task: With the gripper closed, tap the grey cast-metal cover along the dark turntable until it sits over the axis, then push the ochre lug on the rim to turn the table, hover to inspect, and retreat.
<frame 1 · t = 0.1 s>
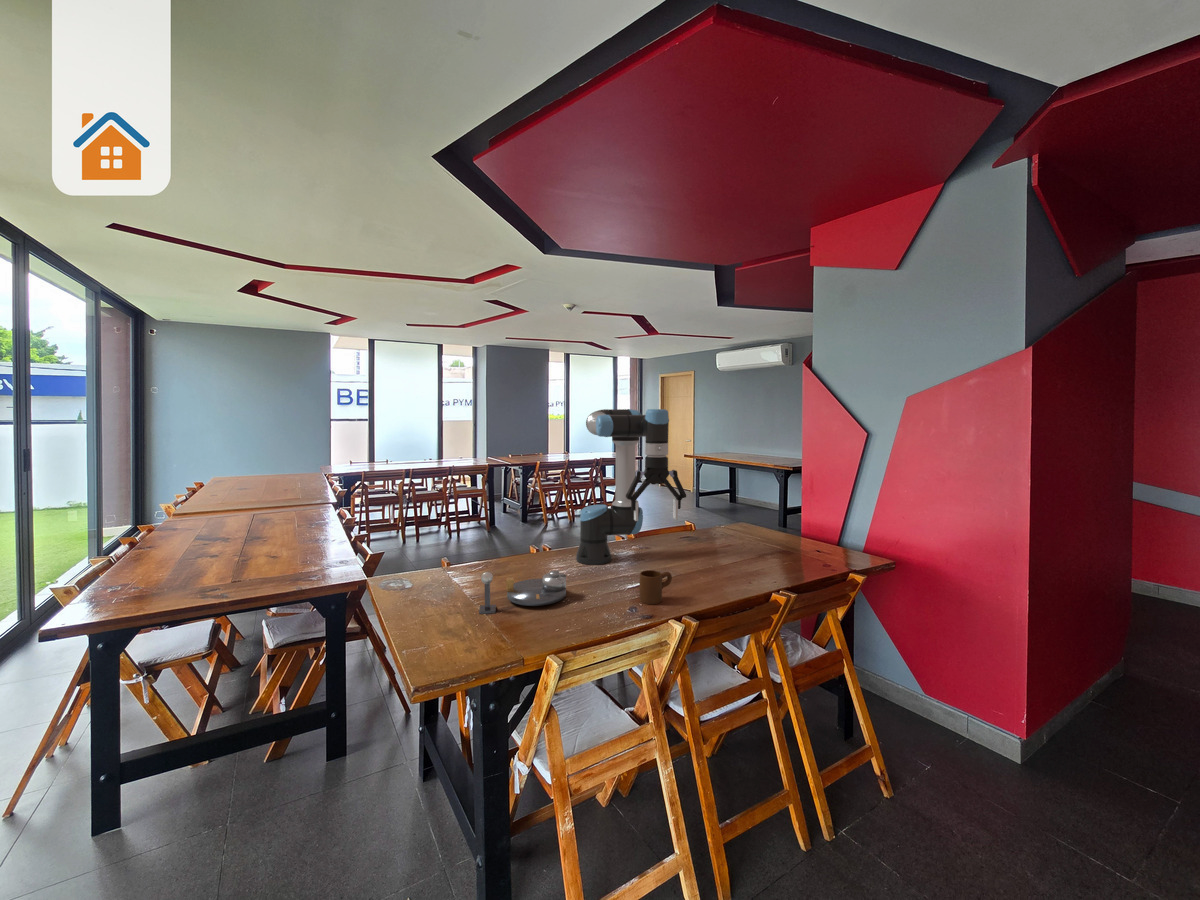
hand: (655, 519, 163), 28 cm above the table, fingers open, 13 cm apart
cover: (554, 587, 169), point 3 cm above the table, touching turntable
turntable: (536, 585, 168), point 4 cm above the table, hinge at 0.0°, touching cover
mug: (656, 600, 167), on the table
globe lamp: (487, 610, 157), on the table
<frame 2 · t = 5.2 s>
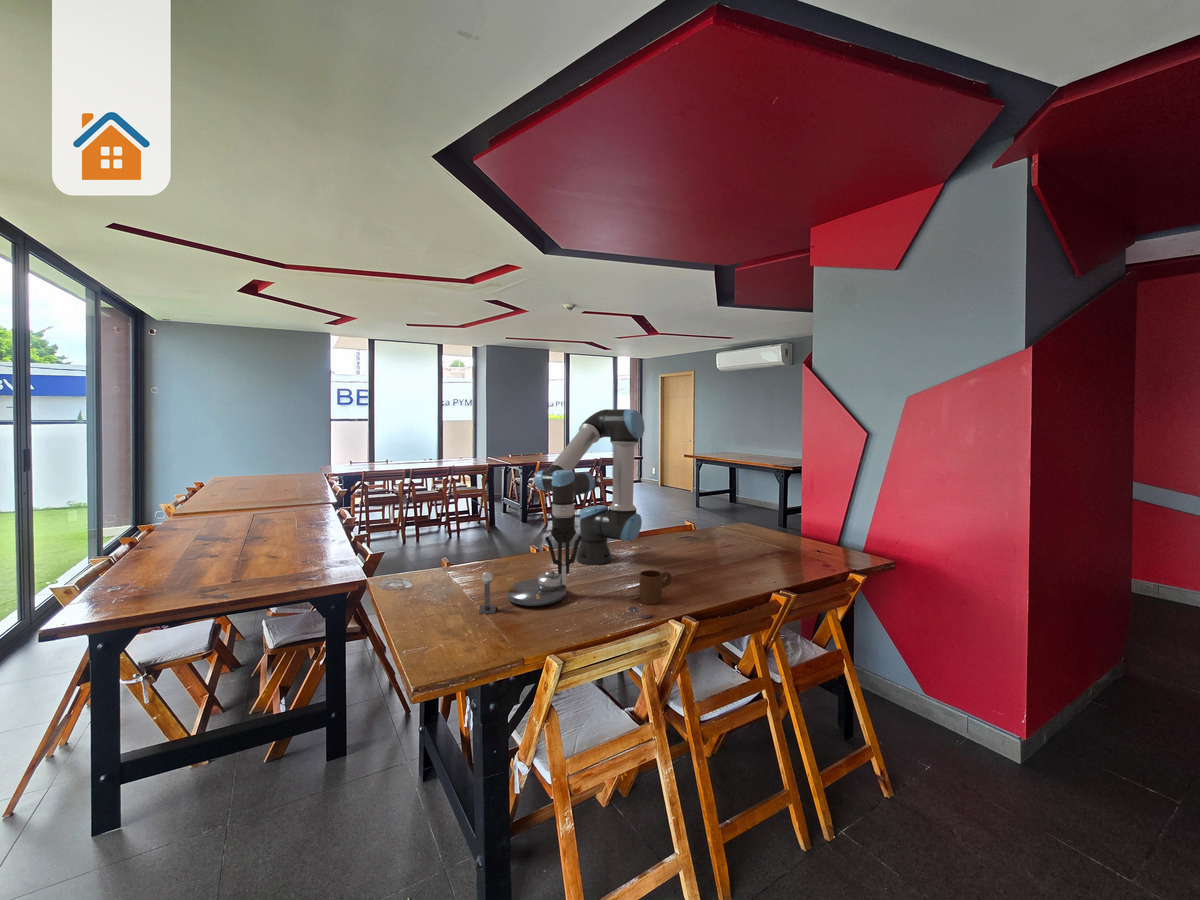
hand: (563, 583, 169), 5 cm above the table, fingers closed
cover: (549, 587, 169), point 3 cm above the table, touching gripper, turntable
everything else where it was.
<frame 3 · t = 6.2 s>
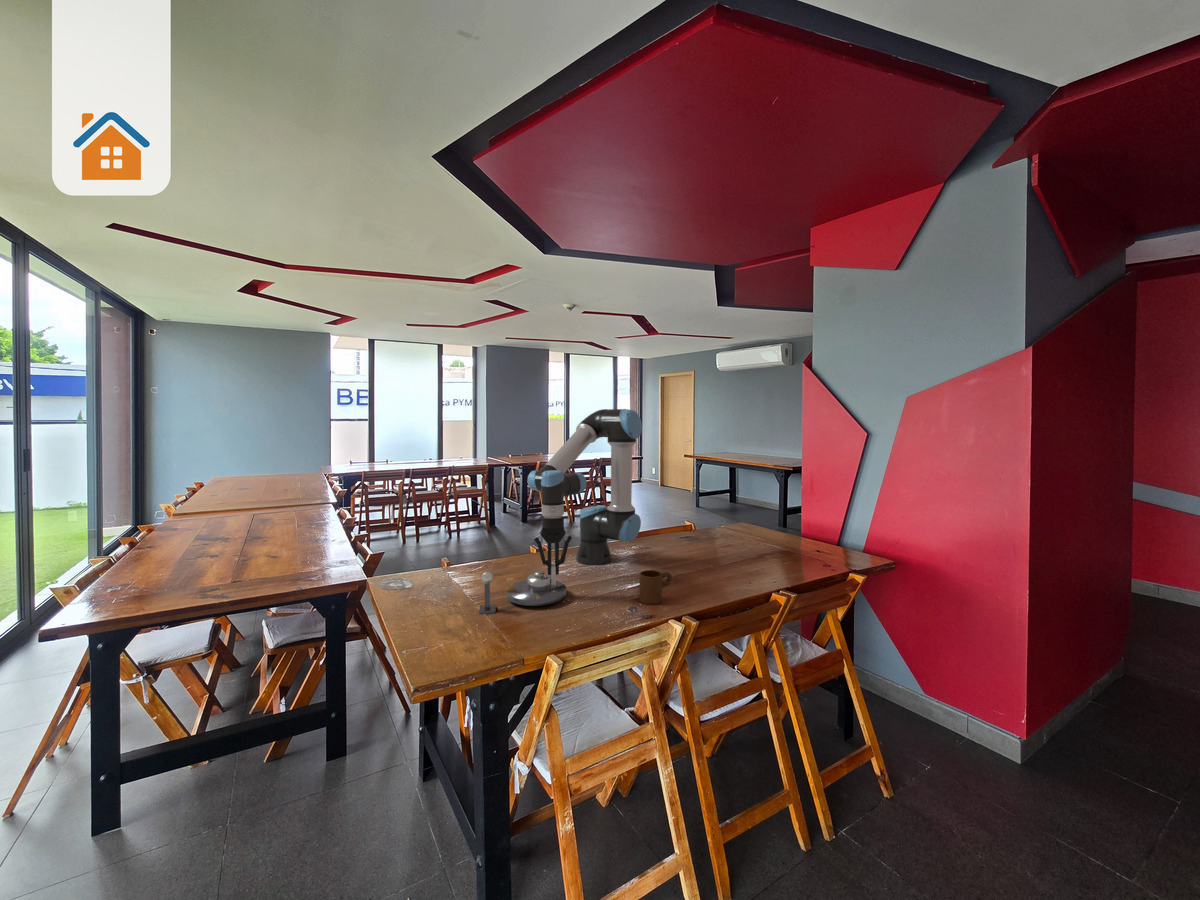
hand: (553, 583, 168), 5 cm above the table, fingers closed
cover: (539, 588, 168), point 3 cm above the table, touching gripper, turntable
everything else where it was.
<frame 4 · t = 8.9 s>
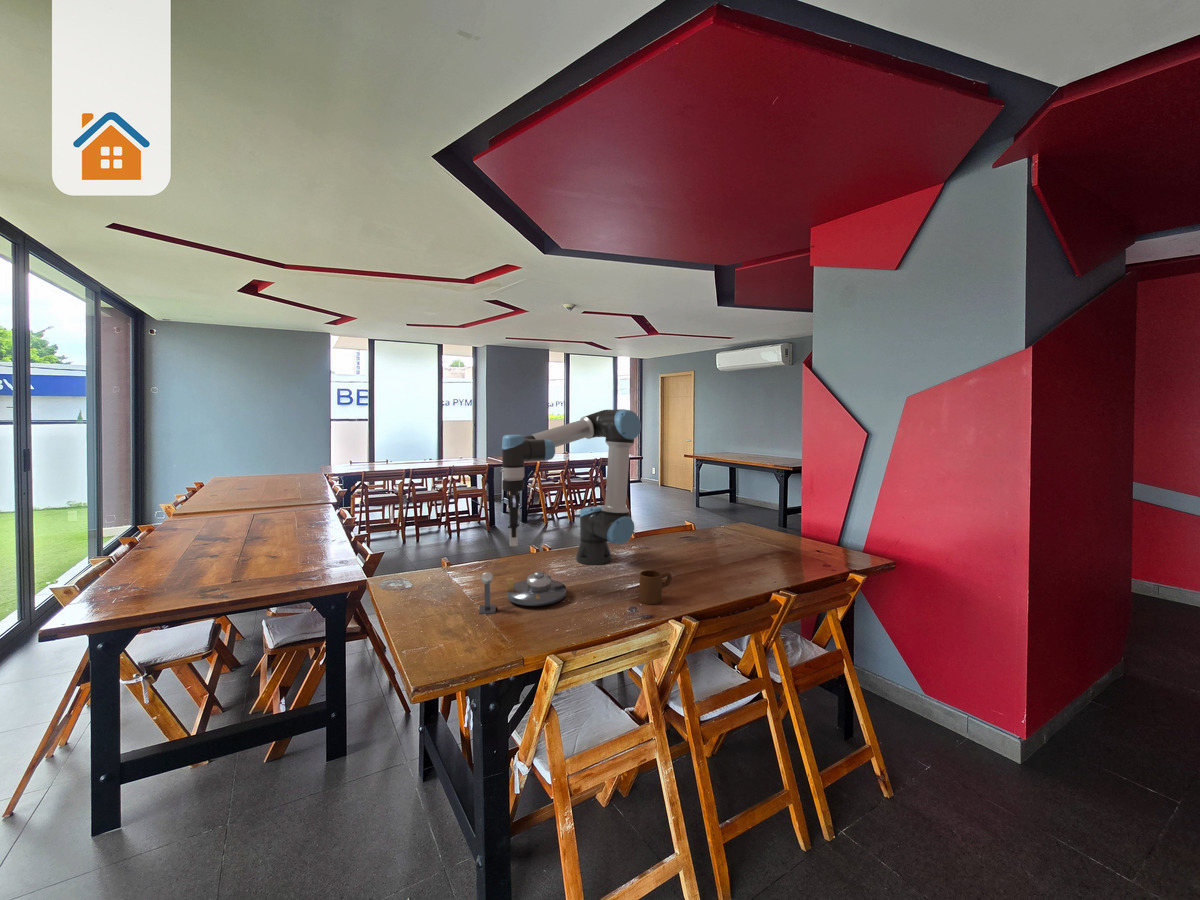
hand: (513, 545, 172), 17 cm above the table, fingers closed
cover: (539, 588, 168), point 3 cm above the table, touching turntable
everything else where it was.
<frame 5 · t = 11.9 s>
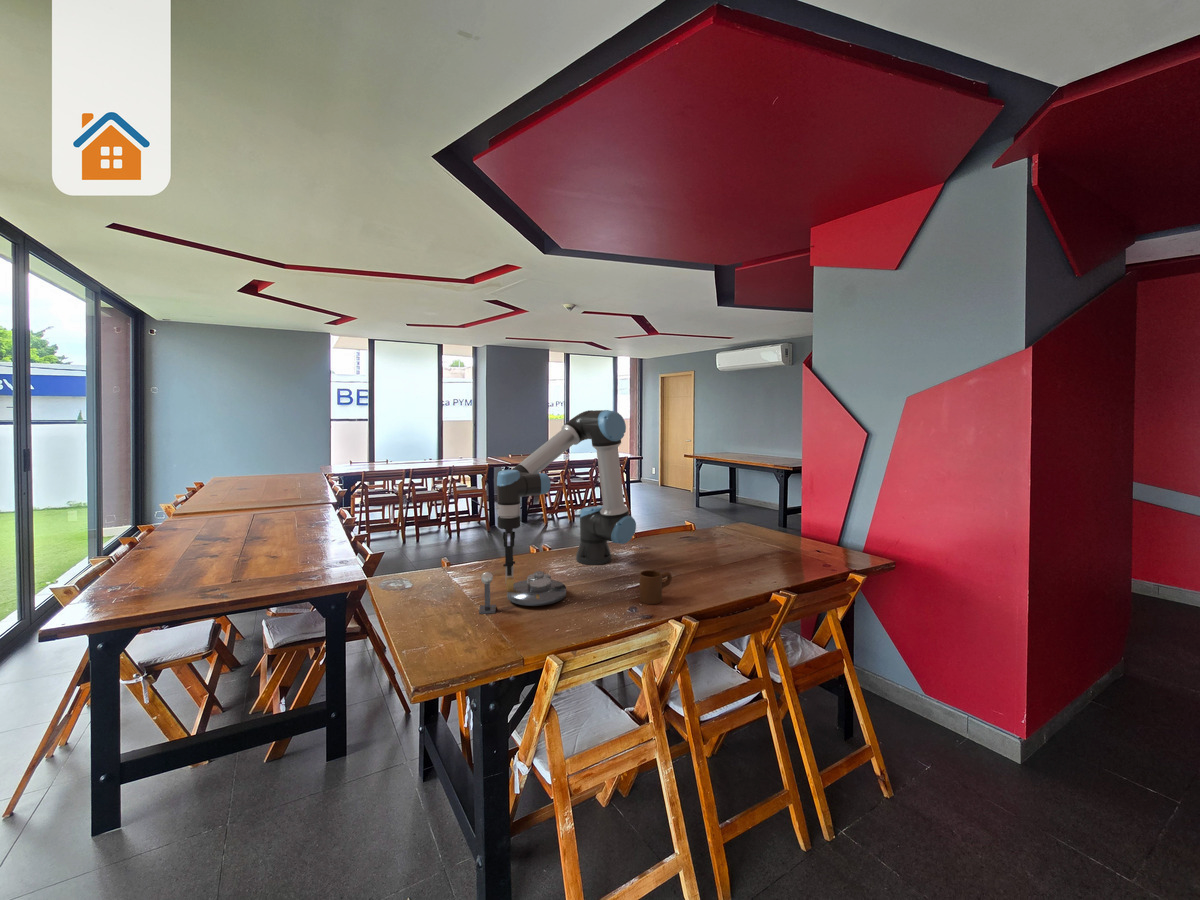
hand: (509, 583, 168), 5 cm above the table, fingers closed
turntable: (536, 585, 168), point 4 cm above the table, hinge at 0.0°, touching cover, gripper
everything else where it was.
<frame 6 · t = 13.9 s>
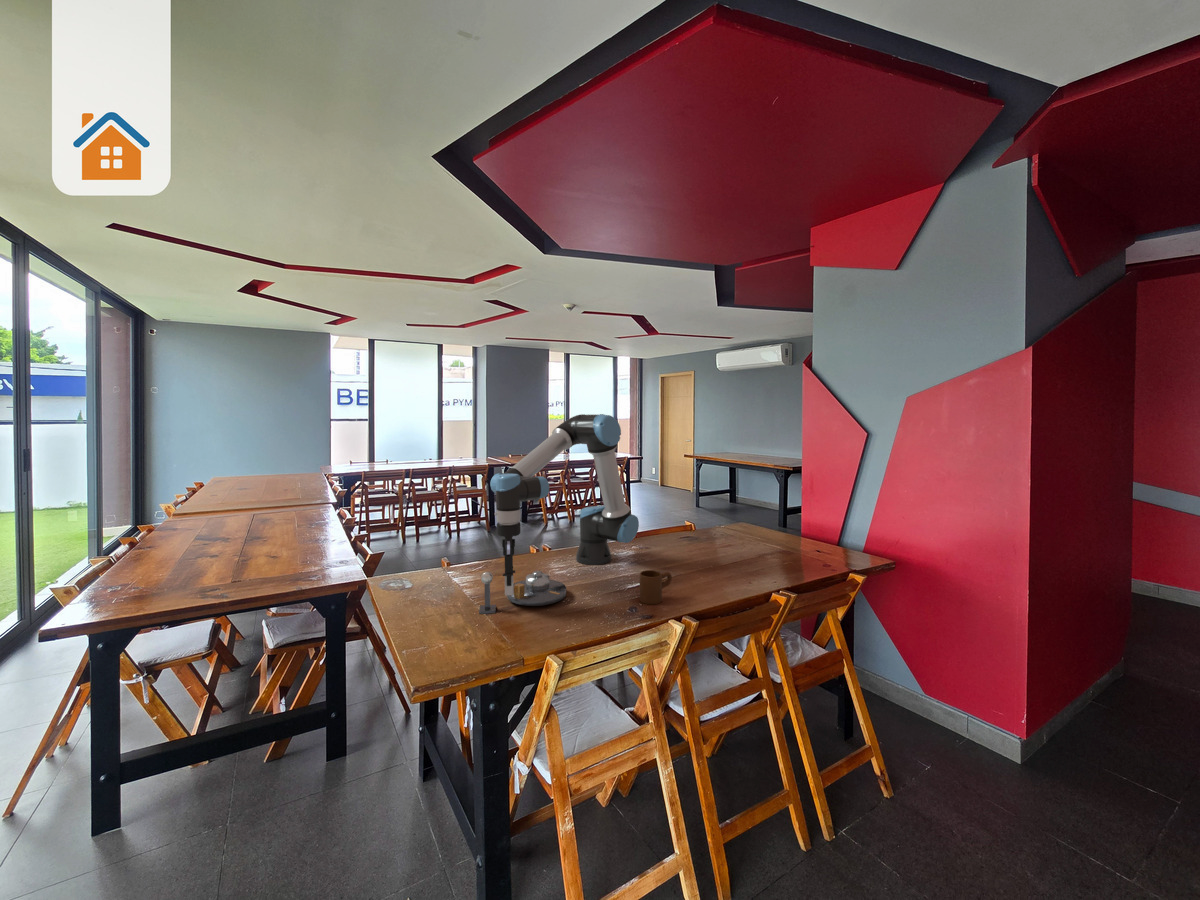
hand: (509, 594, 159), 5 cm above the table, fingers closed
turntable: (536, 585, 168), point 4 cm above the table, hinge at 48.6°, touching cover
everything else where it was.
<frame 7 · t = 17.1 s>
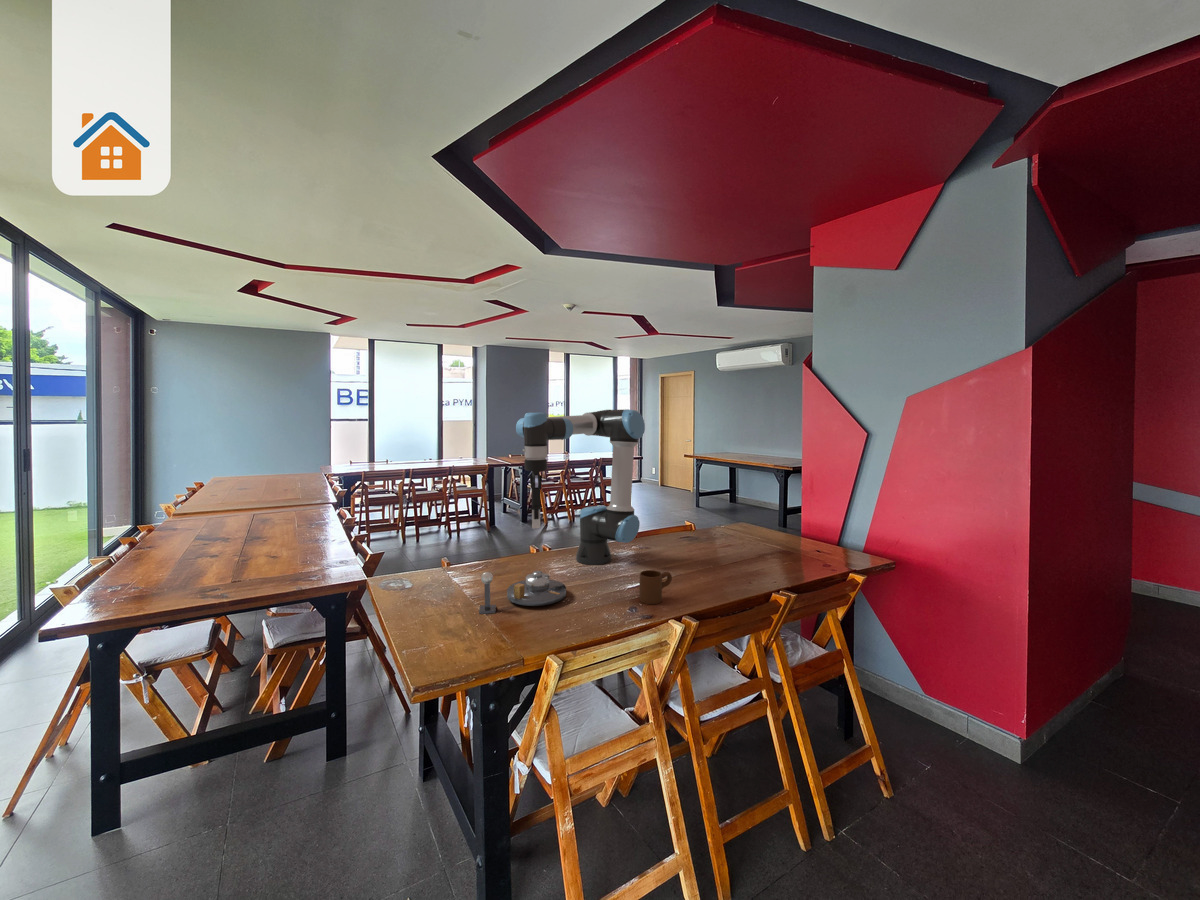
hand: (536, 527, 166), 24 cm above the table, fingers closed
nothing on the table moved.
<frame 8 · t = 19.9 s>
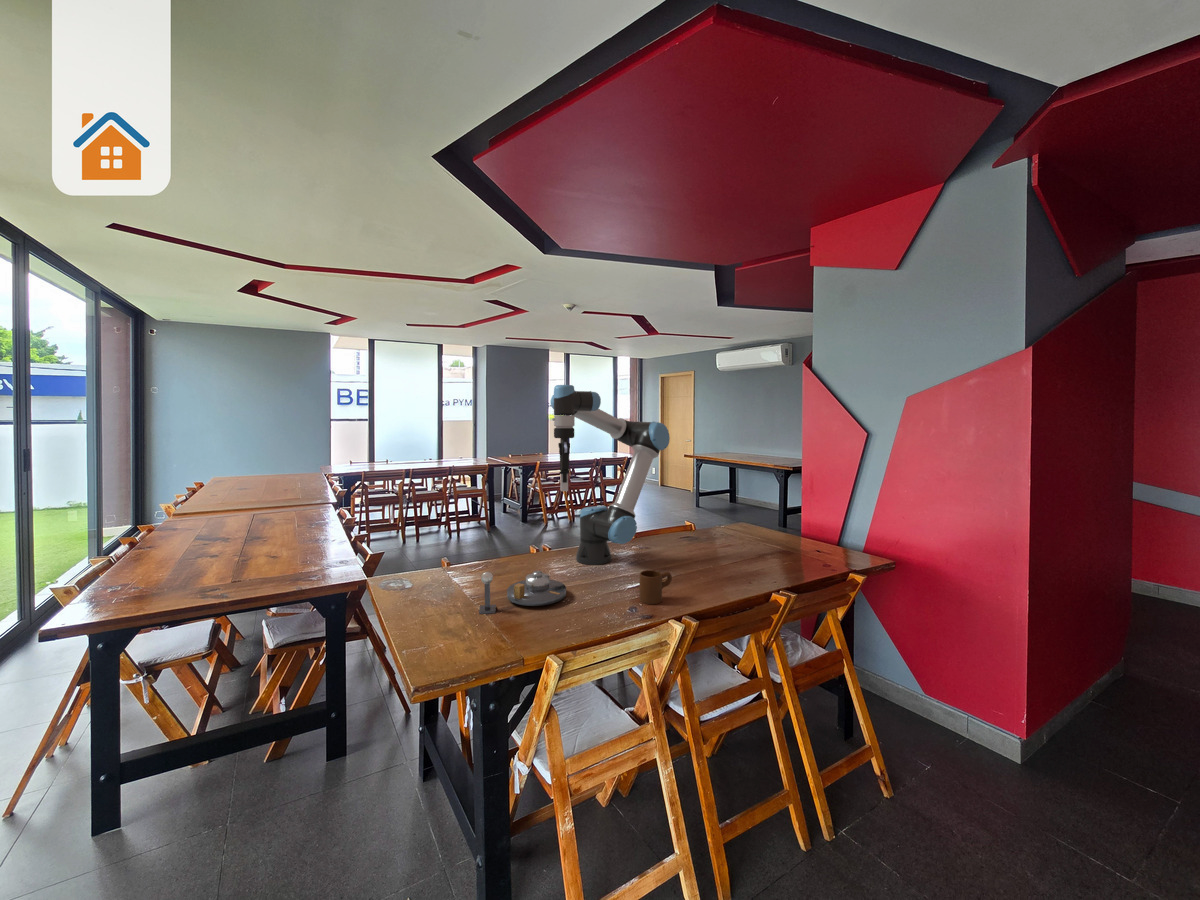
hand: (564, 490, 182), 34 cm above the table, fingers closed
nothing on the table moved.
at the end: cover 0.8 cm from the turntable (horizontally); turntable at +49° (first picture: +0°); cover tilted 0° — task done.
